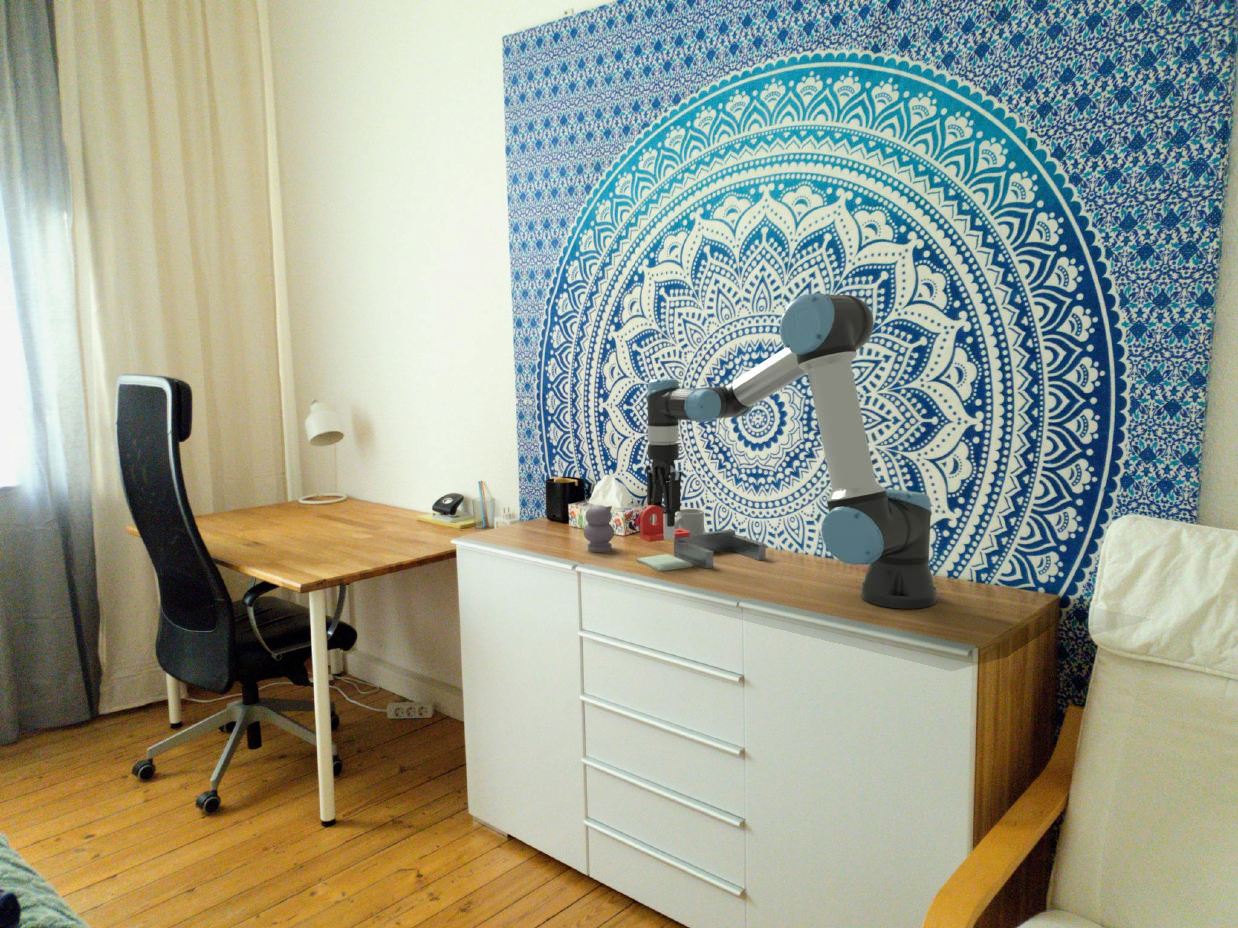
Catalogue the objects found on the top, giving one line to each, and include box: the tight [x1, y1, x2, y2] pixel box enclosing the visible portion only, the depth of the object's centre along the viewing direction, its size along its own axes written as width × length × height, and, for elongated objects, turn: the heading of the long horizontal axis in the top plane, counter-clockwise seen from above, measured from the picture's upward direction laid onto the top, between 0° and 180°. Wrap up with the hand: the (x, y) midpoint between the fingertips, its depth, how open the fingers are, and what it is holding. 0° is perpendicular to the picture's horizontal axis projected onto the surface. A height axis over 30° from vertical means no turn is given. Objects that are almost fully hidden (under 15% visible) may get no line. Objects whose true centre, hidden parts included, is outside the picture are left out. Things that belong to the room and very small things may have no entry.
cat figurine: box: [583, 503, 615, 553], centre depth 233 cm, size 8×8×12 cm
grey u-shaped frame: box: [673, 528, 767, 569], centre depth 224 cm, size 20×18×5 cm
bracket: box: [639, 505, 690, 543], centre depth 216 cm, size 12×4×8 cm, turn 118°
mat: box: [636, 553, 694, 572], centre depth 217 cm, size 12×9×1 cm
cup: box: [675, 508, 705, 535], centre depth 237 cm, size 7×10×9 cm
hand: (663, 536), depth 216 cm, fingers closed on bracket, 4 cm apart
